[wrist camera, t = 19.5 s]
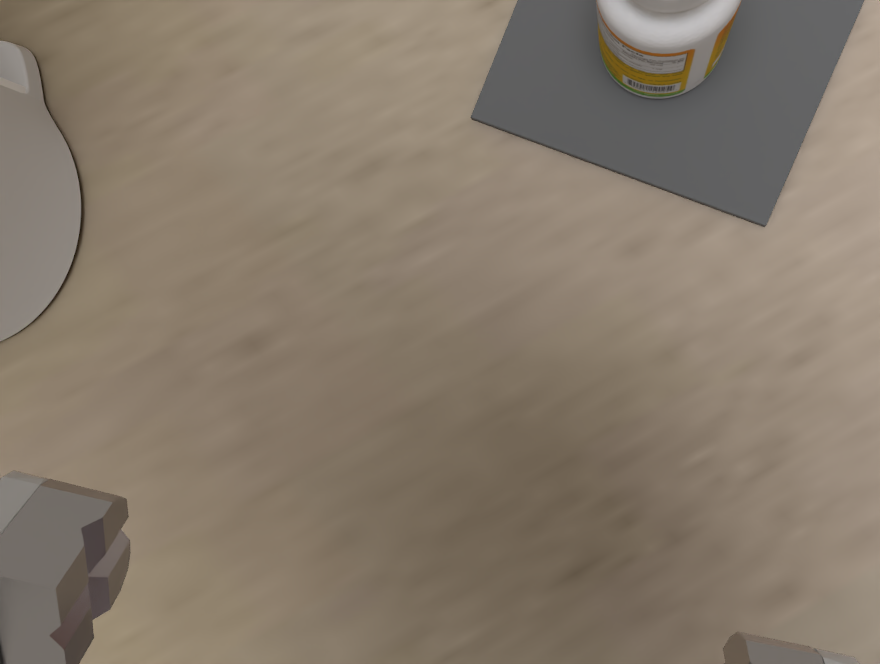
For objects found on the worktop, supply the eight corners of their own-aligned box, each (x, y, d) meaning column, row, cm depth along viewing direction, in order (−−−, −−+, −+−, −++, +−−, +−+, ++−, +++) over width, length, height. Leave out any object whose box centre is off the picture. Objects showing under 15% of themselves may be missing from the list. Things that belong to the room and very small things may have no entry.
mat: (472, 119, 39) (471, 117, 39) (571, -128, 38) (571, -133, 38) (764, 226, 37) (766, 225, 36) (878, -37, 36) (881, -41, 35)
